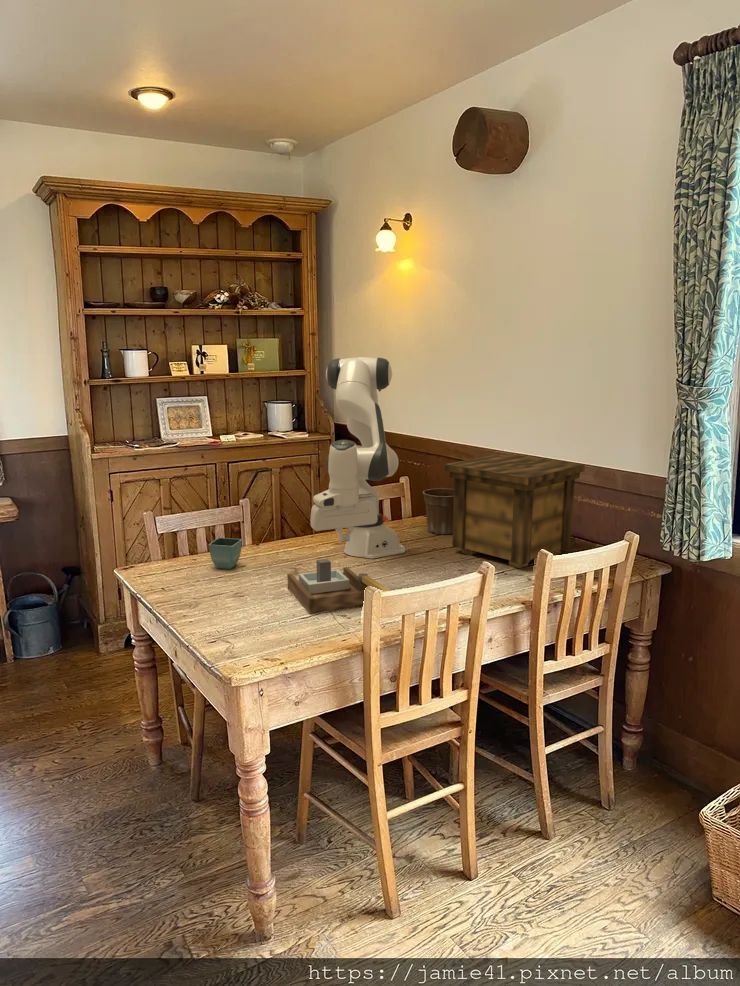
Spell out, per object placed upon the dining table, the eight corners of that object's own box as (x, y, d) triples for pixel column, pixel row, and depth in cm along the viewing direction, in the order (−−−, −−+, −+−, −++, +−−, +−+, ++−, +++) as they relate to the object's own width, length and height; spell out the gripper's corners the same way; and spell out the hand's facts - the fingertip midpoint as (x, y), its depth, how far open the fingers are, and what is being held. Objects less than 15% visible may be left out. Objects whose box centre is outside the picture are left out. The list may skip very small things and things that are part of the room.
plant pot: (417, 526, 311) (418, 488, 307) (455, 525, 314) (456, 487, 310) (427, 537, 295) (428, 497, 292) (467, 535, 298) (468, 495, 295)
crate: (443, 552, 275) (445, 464, 268) (500, 534, 299) (503, 453, 292) (523, 574, 251) (528, 478, 244) (579, 553, 275) (584, 464, 268)
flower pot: (233, 571, 253) (232, 545, 251) (209, 570, 255) (208, 544, 253) (243, 563, 261) (242, 538, 259) (219, 562, 263) (218, 537, 261)
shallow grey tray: (337, 578, 243) (337, 553, 241) (349, 589, 233) (349, 563, 231) (298, 582, 238) (298, 558, 236) (308, 594, 228) (308, 568, 226)
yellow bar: (356, 579, 229) (356, 574, 229) (365, 578, 230) (365, 572, 230) (385, 598, 213) (385, 592, 213) (394, 597, 214) (394, 591, 214)
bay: (348, 580, 245) (348, 565, 244) (375, 605, 223) (375, 589, 222) (287, 587, 237) (287, 572, 236) (309, 614, 216) (309, 597, 215)
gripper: (372, 490, 228) (372, 534, 232) (307, 497, 221) (309, 542, 224) (380, 495, 223) (380, 539, 226) (314, 502, 215) (315, 548, 218)
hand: (344, 541), depth 225 cm, fingers closed
